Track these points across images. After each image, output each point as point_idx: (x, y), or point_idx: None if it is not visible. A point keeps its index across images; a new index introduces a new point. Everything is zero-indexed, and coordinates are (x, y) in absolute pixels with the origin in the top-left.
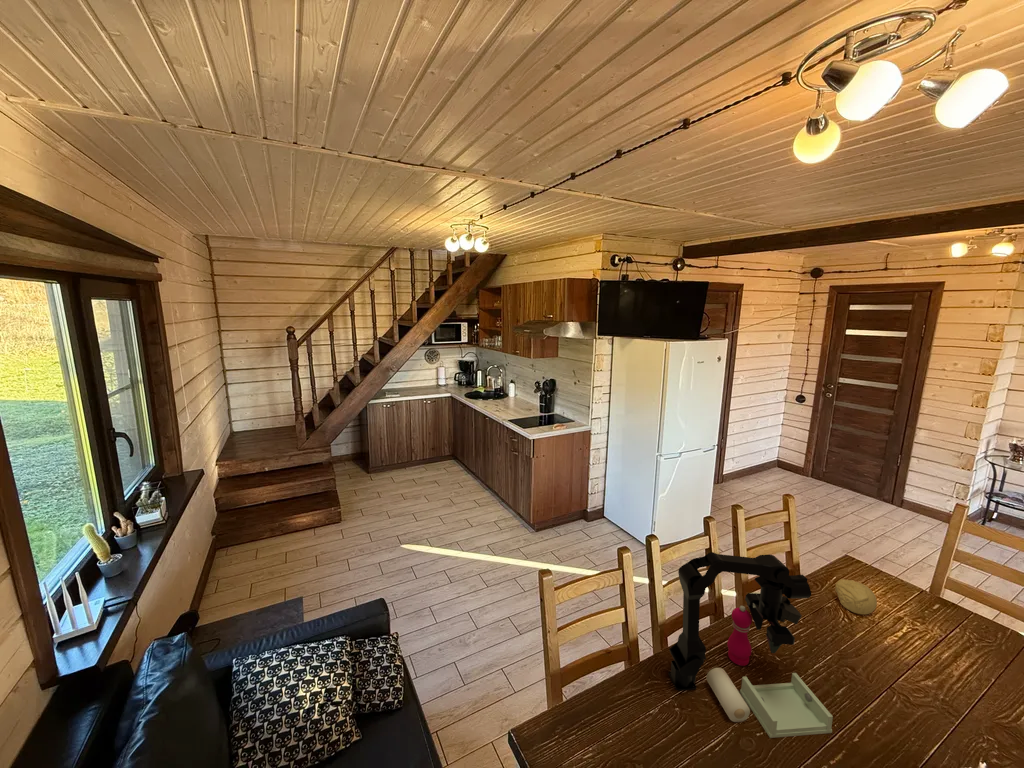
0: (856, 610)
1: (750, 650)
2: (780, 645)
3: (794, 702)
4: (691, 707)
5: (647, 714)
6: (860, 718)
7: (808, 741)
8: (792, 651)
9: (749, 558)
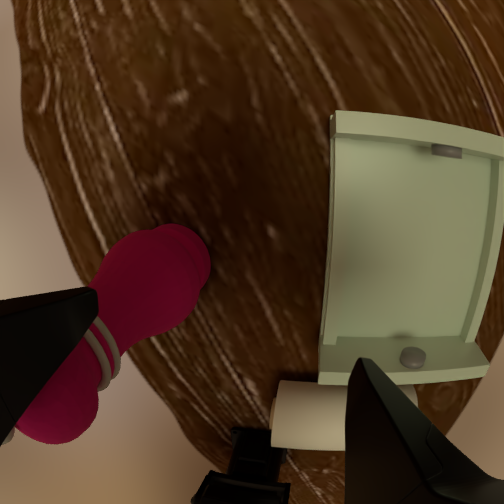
0: None
1: (176, 261)
2: (444, 442)
3: (407, 186)
4: (331, 454)
5: (322, 497)
6: (446, 6)
7: (501, 242)
8: (158, 27)
9: None
